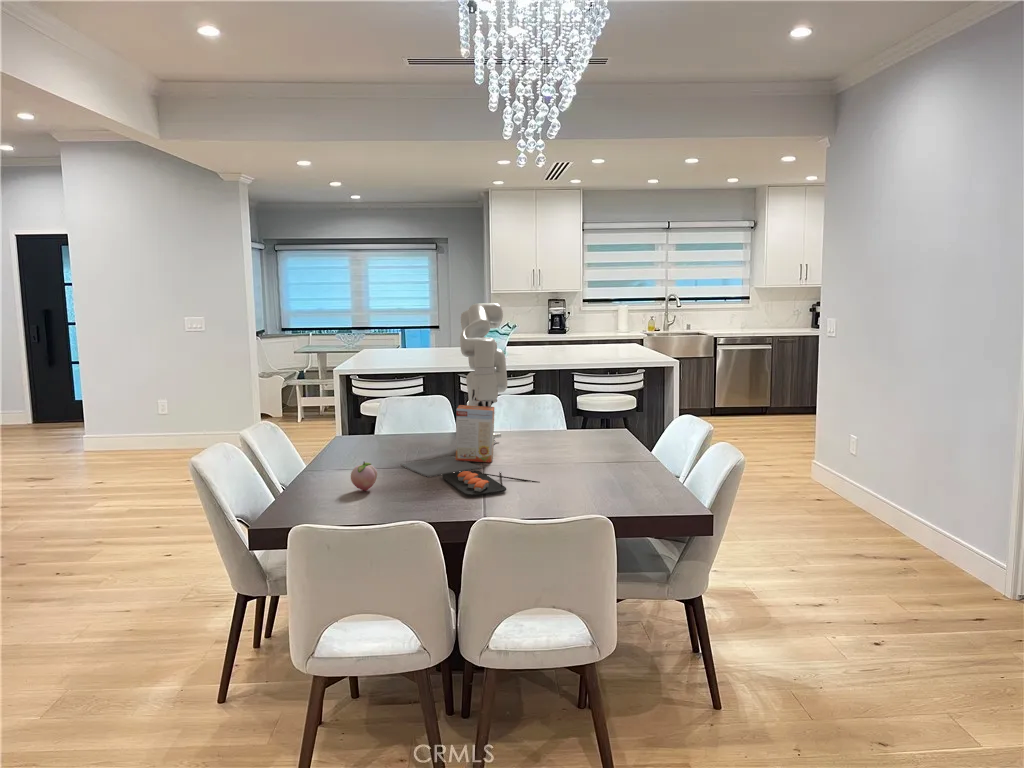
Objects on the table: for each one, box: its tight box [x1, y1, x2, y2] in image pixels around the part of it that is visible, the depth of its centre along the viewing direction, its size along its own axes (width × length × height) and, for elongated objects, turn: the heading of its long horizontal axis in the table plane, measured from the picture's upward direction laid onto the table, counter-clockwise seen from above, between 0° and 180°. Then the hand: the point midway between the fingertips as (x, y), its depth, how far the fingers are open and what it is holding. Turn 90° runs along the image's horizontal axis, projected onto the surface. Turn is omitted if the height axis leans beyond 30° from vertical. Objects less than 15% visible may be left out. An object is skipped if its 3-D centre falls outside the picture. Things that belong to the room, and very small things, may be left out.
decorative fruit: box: [350, 461, 378, 492], centre depth 230 cm, size 9×8×10 cm
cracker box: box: [455, 404, 495, 463], centre depth 268 cm, size 14×6×21 cm, turn 84°
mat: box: [400, 455, 482, 478], centre depth 262 cm, size 22×22×1 cm
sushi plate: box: [441, 470, 539, 496], centre depth 239 cm, size 29×30×4 cm
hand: (485, 418), depth 272 cm, fingers closed
